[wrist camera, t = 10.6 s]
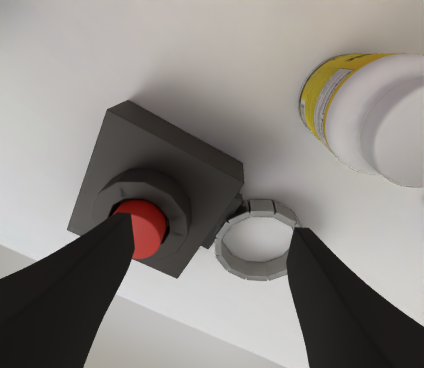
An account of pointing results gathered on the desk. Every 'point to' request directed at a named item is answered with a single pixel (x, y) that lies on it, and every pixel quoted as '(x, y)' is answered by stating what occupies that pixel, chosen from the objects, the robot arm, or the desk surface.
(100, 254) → the robot arm
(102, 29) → the desk surface
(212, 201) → the power button base
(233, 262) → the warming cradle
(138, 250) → the power button
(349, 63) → the supplement bottle
